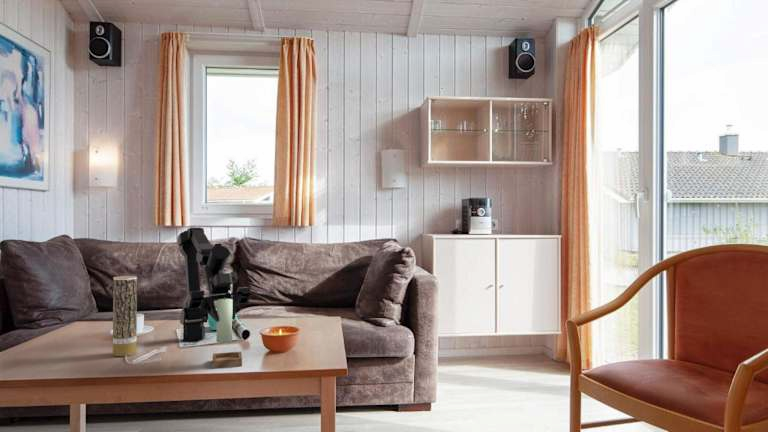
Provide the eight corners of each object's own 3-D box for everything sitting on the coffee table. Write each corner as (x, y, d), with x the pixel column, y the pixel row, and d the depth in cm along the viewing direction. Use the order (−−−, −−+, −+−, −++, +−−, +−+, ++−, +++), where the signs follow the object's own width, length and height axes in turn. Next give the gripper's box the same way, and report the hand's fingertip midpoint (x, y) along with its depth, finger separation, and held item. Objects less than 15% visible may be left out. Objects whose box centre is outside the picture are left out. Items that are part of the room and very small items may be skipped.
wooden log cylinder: (141, 352, 163) (141, 276, 163) (124, 358, 157) (124, 278, 157) (125, 350, 165) (125, 275, 165) (107, 356, 159) (108, 277, 159)
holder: (212, 368, 146) (212, 360, 146) (213, 360, 154) (213, 353, 155) (241, 366, 149) (242, 358, 149) (241, 358, 157) (241, 351, 157)
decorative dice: (223, 332, 193) (223, 311, 193) (207, 330, 196) (207, 309, 196) (237, 328, 200) (237, 308, 200) (222, 326, 203) (222, 306, 203)
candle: (215, 343, 149) (215, 298, 149) (217, 339, 153) (217, 296, 153) (231, 342, 150) (231, 298, 150) (232, 338, 154) (233, 295, 154)
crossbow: (148, 369, 149) (148, 362, 149) (113, 366, 152) (112, 359, 152) (181, 352, 165) (181, 346, 165) (148, 349, 168) (148, 343, 167)
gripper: (189, 264, 149) (199, 307, 140) (250, 261, 160) (262, 301, 151) (183, 287, 156) (192, 329, 147) (241, 283, 166) (253, 322, 157)
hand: (226, 319), depth 150 cm, fingers closed on candle, 5 cm apart
